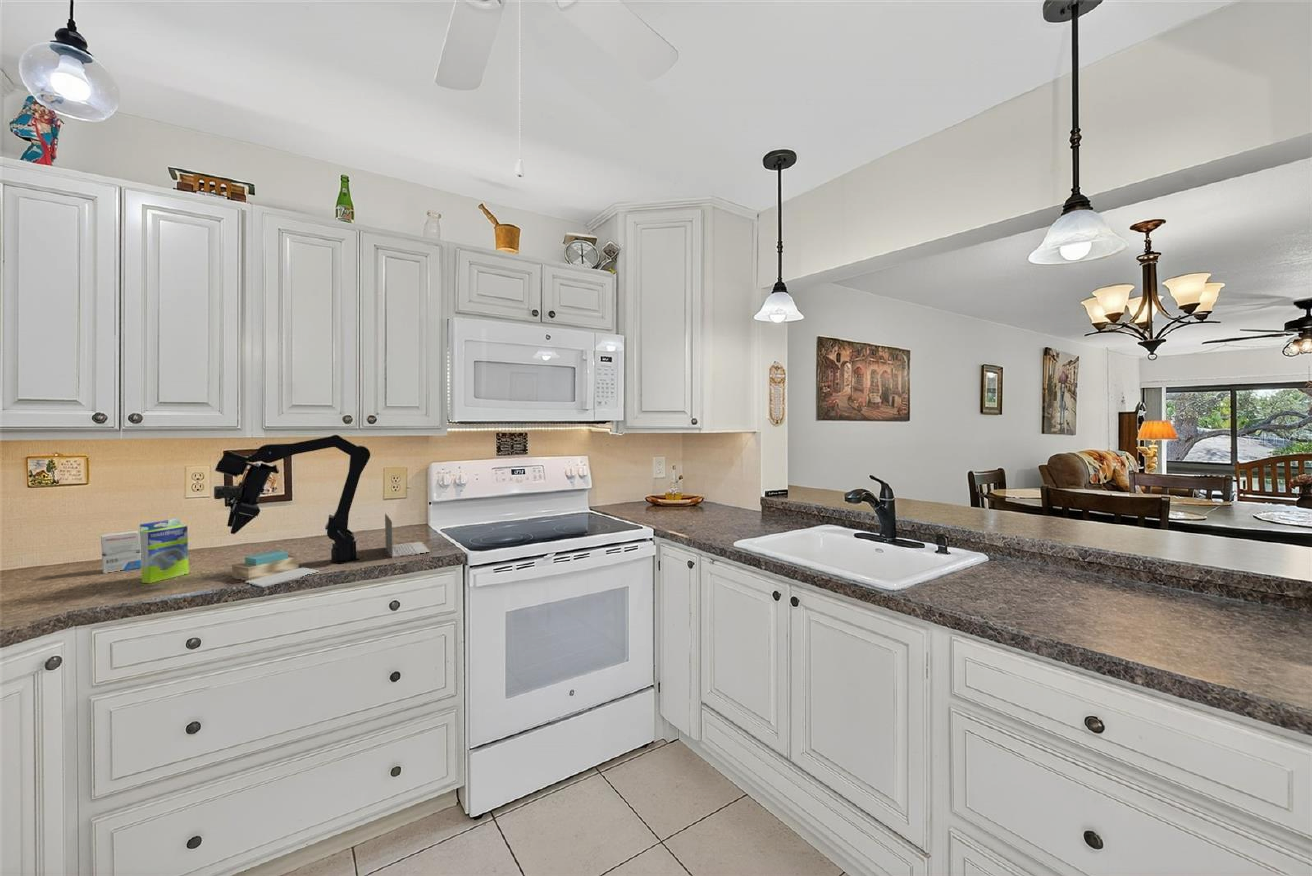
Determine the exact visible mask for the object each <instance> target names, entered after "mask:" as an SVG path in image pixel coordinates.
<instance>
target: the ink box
mask: <svg viewBox="0 0 1312 876" xmlns="http://www.w3.org/2000/svg"><path fill="white" fill-rule="evenodd" d="M139 532H140V531H139V530H134V531H124V532H116V533H107V534H101V536H100V545H101V560H102V561H101V562H102V574H103V573H106V574H109V573H108V572H112V573H115V572H114V571H118V572H121V571H120V570H125V571H130V570H136V569H137V568H138V569H142V565H141V543H140V533H139ZM138 569H137V570H138Z"/></svg>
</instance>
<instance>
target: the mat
mask: <svg viewBox="0 0 1312 876" xmlns="http://www.w3.org/2000/svg"><path fill="white" fill-rule="evenodd" d="M319 571H320V570H318V569H314V568H308V567H304V566H302V567H299V568H298V569H294V570H290V571H285V572H281V573H277V574H273V575H269V576H265V577H261V578H257V579H253V580H249V581H244V582H245V584H247V583H249V584H248V585H251V584H252V586H256V587H260V588H265V587H270V586H273V585H276V584H281V583H285V582H288V581H289V582H290V581H292V580H296V579H300V577H301V578H303V577H302V576H304V577H306V576H305V575H307V574H312V573H316V572H319ZM316 574H317V573H316ZM312 575H313V574H312Z"/></svg>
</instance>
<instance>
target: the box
mask: <svg viewBox="0 0 1312 876" xmlns="http://www.w3.org/2000/svg"><path fill="white" fill-rule="evenodd" d="M160 523H161V524H165V525H160V526H155V525H159V524H160ZM139 530H140V531H139V539H140V553H141V583H144V584H152V583H157V582H161V581H166V580H170V579H172V578H176V577H182V576H185V575H184V574H186V575H189V571H190V570H189V568H190V567H189V545H188V544H189V541H188V538H189V537H188V536H189V535H188V534H189V533H188V531H189V530H188V525H187V524H186V525H185V524H180V518H179V517H178V518H173V519H172V518H171V519H166V520H165V519H164V520H160V521H153V522H147V523H141V524H140V523H139Z"/></svg>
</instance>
